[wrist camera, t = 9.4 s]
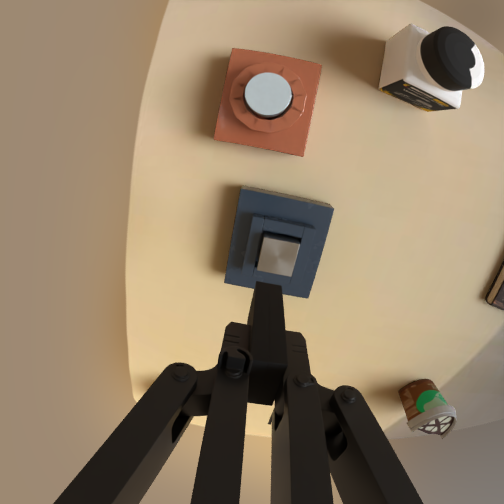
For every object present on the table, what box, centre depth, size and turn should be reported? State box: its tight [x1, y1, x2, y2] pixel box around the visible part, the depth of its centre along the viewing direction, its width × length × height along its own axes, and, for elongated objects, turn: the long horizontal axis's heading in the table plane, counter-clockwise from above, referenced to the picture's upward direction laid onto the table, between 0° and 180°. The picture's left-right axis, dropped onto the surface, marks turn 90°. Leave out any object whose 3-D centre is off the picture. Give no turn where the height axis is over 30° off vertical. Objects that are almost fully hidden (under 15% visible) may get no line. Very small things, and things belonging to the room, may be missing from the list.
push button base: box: [224, 186, 334, 298], centre depth 32 cm, size 11×10×4 cm
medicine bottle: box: [379, 24, 484, 112], centre depth 20 cm, size 7×7×12 cm
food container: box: [399, 379, 457, 439], centre depth 38 cm, size 12×6×10 cm, turn 58°
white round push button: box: [245, 73, 292, 117], centre depth 23 cm, size 4×4×2 cm
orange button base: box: [214, 48, 322, 157], centre depth 26 cm, size 10×9×5 cm
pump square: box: [257, 232, 300, 277], centre depth 30 cm, size 4×4×2 cm
